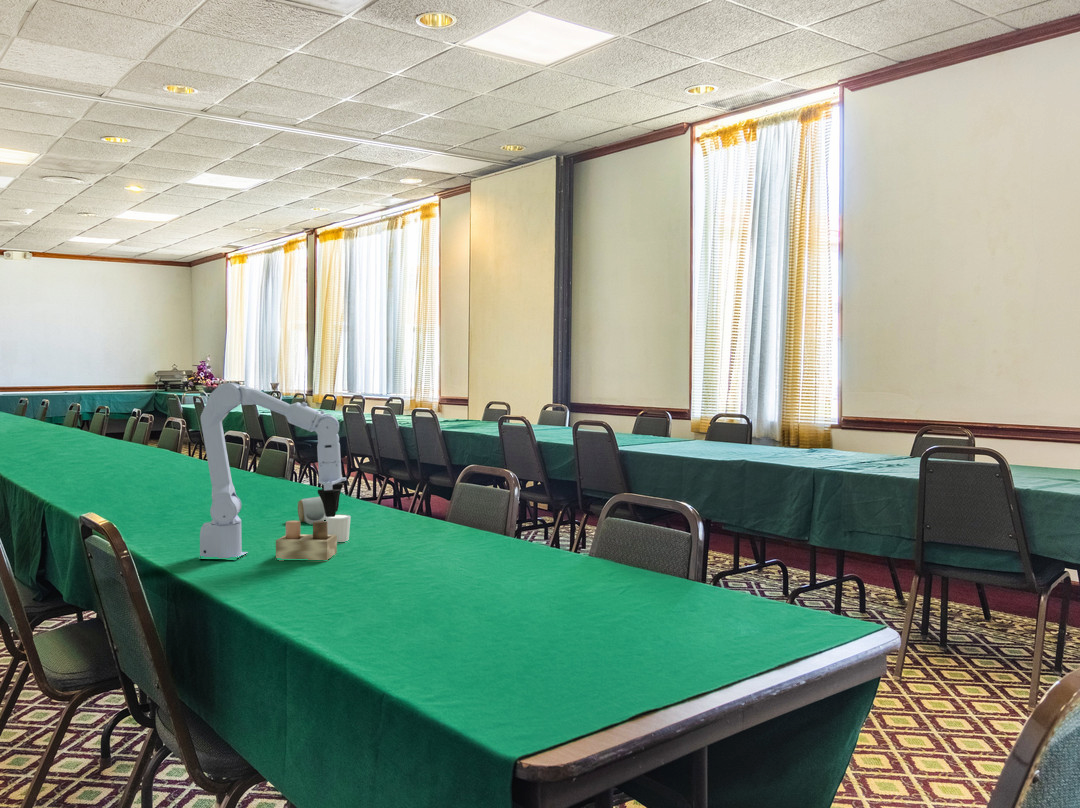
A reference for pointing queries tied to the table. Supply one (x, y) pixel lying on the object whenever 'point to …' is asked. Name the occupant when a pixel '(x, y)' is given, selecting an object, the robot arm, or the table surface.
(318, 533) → the walnut peg
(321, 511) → the ceramic mug
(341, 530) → the white cup
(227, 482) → the robot arm
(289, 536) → the terracotta peg
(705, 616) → the table surface
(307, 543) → the maple block
